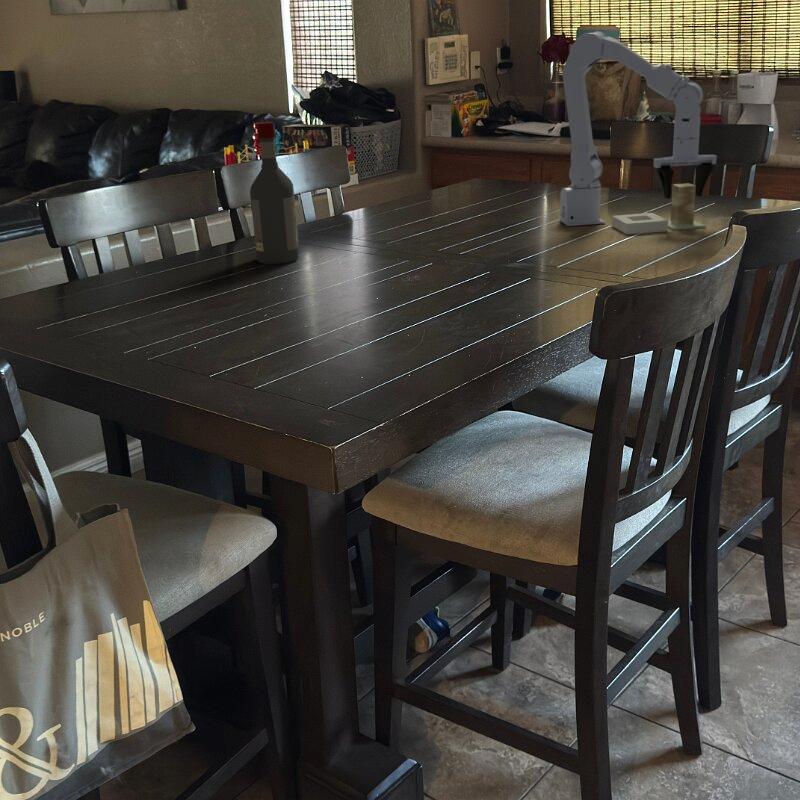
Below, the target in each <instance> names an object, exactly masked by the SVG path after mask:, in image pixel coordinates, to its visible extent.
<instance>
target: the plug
mask: <svg viewBox="0 0 800 800" xmlns="http://www.w3.org/2000/svg"><path fill="white" fill-rule="evenodd" d="M695 188H696V184H692V183H688V182H687V183H674V184H672V185H671V206H670V207H671V208H670V209H671V211H670V212H671V213H670V220H671V223H673V224H675V225H690V224H693V223H694V220H695V218H694V217H695V203H696V202H695V201H696V195H695Z"/></svg>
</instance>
